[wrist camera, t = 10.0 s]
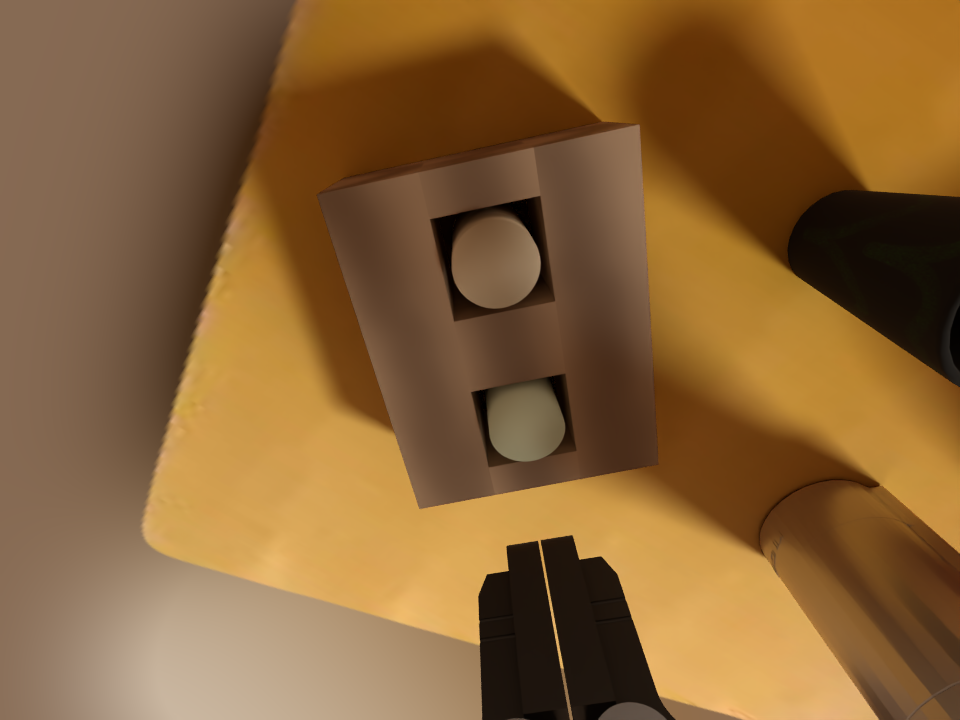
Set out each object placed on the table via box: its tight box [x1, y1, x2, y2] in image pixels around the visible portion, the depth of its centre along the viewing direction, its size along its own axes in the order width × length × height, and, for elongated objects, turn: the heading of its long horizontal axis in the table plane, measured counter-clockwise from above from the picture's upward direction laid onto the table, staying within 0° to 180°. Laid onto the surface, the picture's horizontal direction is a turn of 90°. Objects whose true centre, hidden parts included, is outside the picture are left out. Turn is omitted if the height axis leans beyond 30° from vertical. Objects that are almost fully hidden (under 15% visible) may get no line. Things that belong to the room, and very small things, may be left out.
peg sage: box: [485, 377, 565, 462], centre depth 30 cm, size 4×4×7 cm
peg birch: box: [452, 203, 541, 309], centre depth 26 cm, size 4×4×7 cm
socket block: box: [317, 122, 658, 509], centre depth 28 cm, size 14×18×6 cm
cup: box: [788, 190, 960, 387], centre depth 25 cm, size 8×8×12 cm
